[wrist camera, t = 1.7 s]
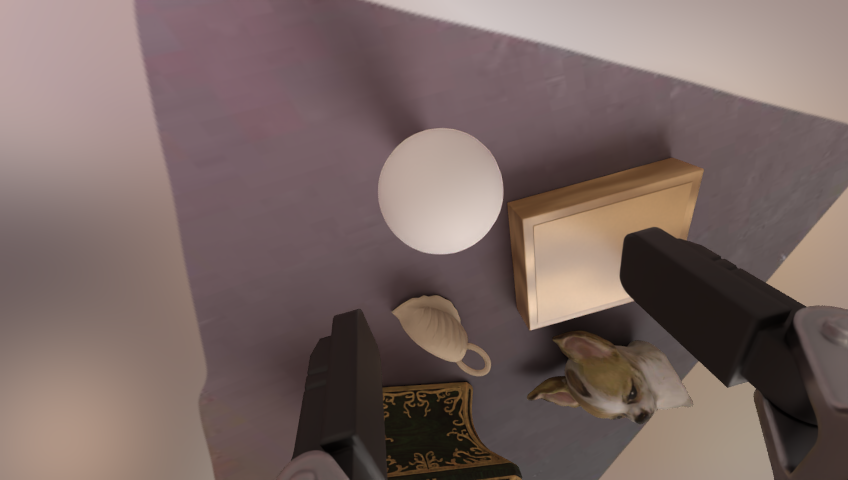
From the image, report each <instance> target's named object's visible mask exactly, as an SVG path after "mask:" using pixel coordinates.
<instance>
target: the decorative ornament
mask: <svg viewBox="0 0 848 480" xmlns="http://www.w3.org/2000/svg"><path fill="white" fill-rule="evenodd" d="M392 313H393V314H394V315H395V316H396V317H397V318H398V319H399V321H400V322H401V325H402V327H403V329H404V330H405V331H406V333H407V334H408V335H409V336H410V338H411V339H412V340H413V341H414V342H416V343H417V344H418V345H419V346H421V347H422V348H423V349H425V350H426V351H428V352H430V353H431V354H433V355H435V356H437V357H439V358H442V359H444V360H446V361H450V362H456V363H457V365H458V366H459V367H460V368H461V369H462V370H463V371H465V372H466V373H468V374H471V375H474V376H483V375H486V374H487V373H488V372H489V371H490V369H491V361H490V358H489V356H488V355H487V354H486V352H485V351H484V350H483V349H481V348H480V347H478V346H476V345H475V344H472V343H468V337H467V334H466V332H465V330H464V328H463V327H462V325H461V324H460V321H461V318H460V317H459V316H458V311H457V310H456V309H455V308H454V306H453V304H452V303H451V302H450V301H449V300H446V299H444V298H442V297H441V296H438V295H433V296H429V297H428V296H425V295H423V296H421V297H420V298H411V299H410V300H408V301H406V302H404V303H403V304H401V305H400V306H398V307H397V308H396V309H395V310H394V311H392ZM467 349H470V350H473V351H475V352H477V353H479V354H480V355H481V356H482V358H483V359H484V361H485V368H484V369H482V370H475V369H472V368H470V367H468V366H467V365H466V364H464V363H463V361H462V358H463V357H464V355H465V353H466V350H467Z"/></svg>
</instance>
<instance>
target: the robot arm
mask: <svg viewBox="0 0 848 480" xmlns="http://www.w3.org/2000/svg"><path fill="white" fill-rule="evenodd" d="M620 281H621V284H622V287H623V288H624V290H625V292H626V293H627V294H628V295H629V296H630V297H631V298H632V299H633V300H634V301H635V302H636V303H637V304H639V305H640V306H641V307H642V308H643V309H644V310H645V311H646V312H647V313H648V314H649V315H650V316H651V317H652V318H654V319H655V320H656V321H657V322H658V323H659V324H660V325H661V326H662V327H663V328H664V329H665V330H666V331H667V332H668V333H670V334H671V335H672V336H673V337H674V338H675V339H676V340H677V341H678V342H679V343H680V344H681V345H682V346H683V347H685V348H686V349H687V350H688V351H689V352H690V353H691V354H692V355H693V356H694V357H695V358H696V359H697V360H698V361H699V362H701V363H702V364H703V365H704V366H705V367H706V368H707V369H708V370H709V371H710V372H711V373H712V374H714V375H715V376H716V377H717V378H718V379H719V380H720V381H721V382H722V383H723V384H724V385H725V386H726V387H727V388H728V387H731V386H735V385H738V384H742V383H745V382H749V383H751V384H752V385H753V386H754V387H755V388H756V390H755V392H754V402H755V405H756V409H757V412H758V417H759V421H760V425H761V428H762V432H763V436H764V440H765V443H766V447H767V451H768V455H769V459H770V462H771V466H772V470H773V475H774V480H848V310H847V309H843V308H838V307H832V306H809V307H806V306H804V305H803V304H801V303H799V302H797V301H796V300H794V299H792V298H791V297H789V296H787V295H785V294H784V293H782V292H780V291H779V290H777V289H775V288H773V287H772V286H770V285H768V284H767V283H765V282H763V281H762V280H760V279H758V278H756V277H755V276H753V275H751V274H750V273H748V272H746V271H745V270H743V269H741V268H739V269H738V268H737V267H736V265H734V264H733V263H731V262H729V261H727V260H726V259H721V256H719V255H717V254H716V253H714V252H712V251H710V250H709V249H707V248H705V247H704V246H702V245H699V244H696V243H693V242H690V241H686V240H683V239H680V238H678V239H677V238H675V237H674V236H672V235H670V234H669V233H667V232H665V231H664V230H662V229H660V228H658V227H651V228H647V229H644V230H640V231H637V232H633V233H630V234H627V235H626V236H625V238H624V241H623V249H622V257H621V266H620ZM307 373H308V376H307V378H306V384H305V392H304V395H303V401H302V407H301V413H300V419H299V424H298V430H297V436H296V442H295V448H294V452H293V457H292V459H291V462H289V463H288V464H287V465H286V466H285V467H284V469H283V470H282V471H281V472H280V474H279V475H278V476H277V478H276V480H388V479H387V461H386V443H385V425H384V408H383V390H382V372H381V360H380V354H379V350H378V347H377V344H376V341H375V339H374V337H373V335H372V332H371V330H370V328H369V326H368V323H367V321H366V319H365V317H364V314H363V312H362V311H361V309H357V310H353V311H350V312H346V313H343V314H339V315H336V316H334V318H333V324H332V333H331V336H328V337H325V338H321V339H320V340H319V341H318V343H317V345H316V347H315V348H314V350H313V352H312V354H311V355H310V360H309V366H308V372H307Z"/></svg>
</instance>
